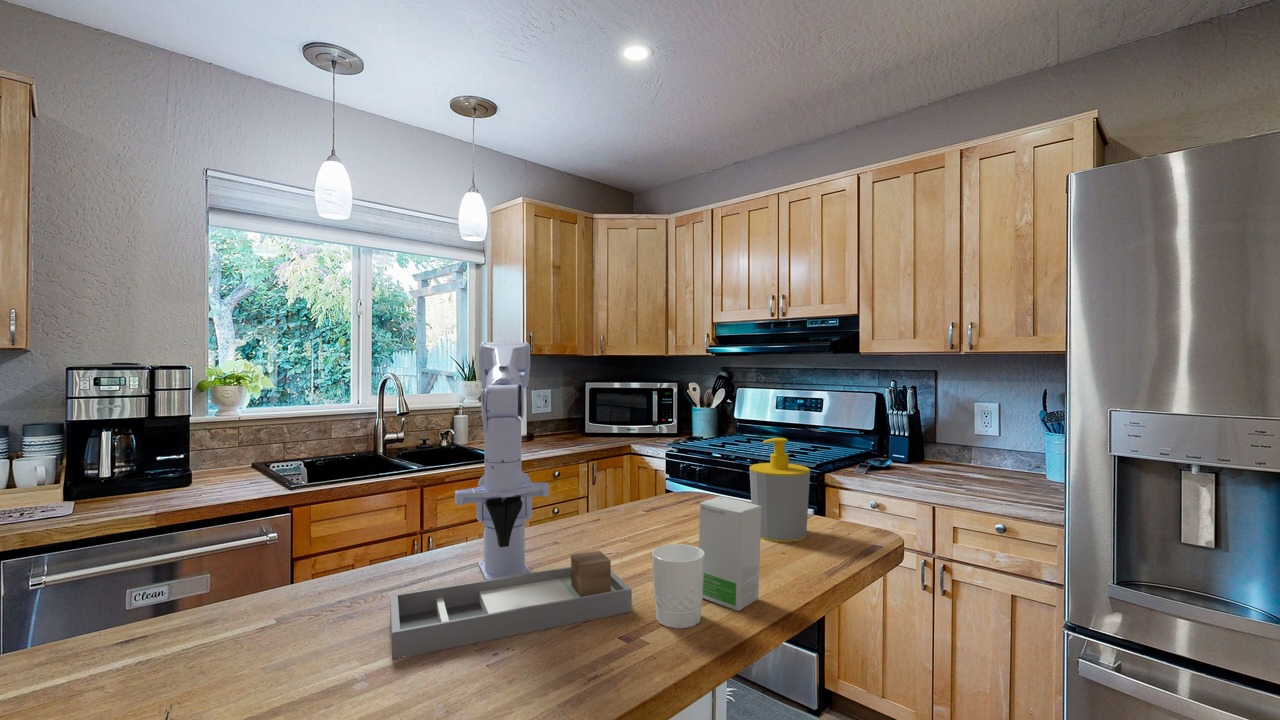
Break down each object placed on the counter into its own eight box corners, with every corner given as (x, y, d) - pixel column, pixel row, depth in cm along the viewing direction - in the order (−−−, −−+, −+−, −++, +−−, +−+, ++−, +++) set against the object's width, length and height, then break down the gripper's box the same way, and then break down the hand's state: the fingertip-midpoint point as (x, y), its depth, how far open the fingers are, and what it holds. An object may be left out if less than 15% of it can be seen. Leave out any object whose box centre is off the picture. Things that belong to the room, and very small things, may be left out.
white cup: (702, 633, 82) (702, 563, 82) (647, 628, 84) (647, 559, 84) (706, 609, 90) (706, 545, 90) (657, 605, 91) (656, 542, 91)
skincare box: (696, 597, 94) (696, 502, 94) (719, 585, 99) (719, 495, 99) (740, 612, 89) (740, 511, 89) (762, 599, 94) (762, 503, 94)
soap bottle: (742, 526, 134) (742, 435, 134) (796, 524, 135) (796, 434, 135) (760, 544, 121) (760, 443, 121) (819, 542, 122) (819, 442, 122)
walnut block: (571, 585, 94) (571, 554, 94) (599, 580, 96) (599, 550, 96) (580, 596, 90) (580, 564, 90) (610, 591, 92) (610, 560, 92)
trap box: (390, 618, 87) (390, 595, 87) (602, 581, 101) (602, 561, 101) (392, 659, 75) (392, 632, 75) (631, 611, 89) (631, 589, 89)
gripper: (458, 467, 85) (459, 559, 85) (554, 460, 91) (554, 546, 91) (453, 460, 92) (453, 545, 92) (542, 453, 97) (542, 533, 98)
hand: (503, 545), depth 92 cm, fingers closed
